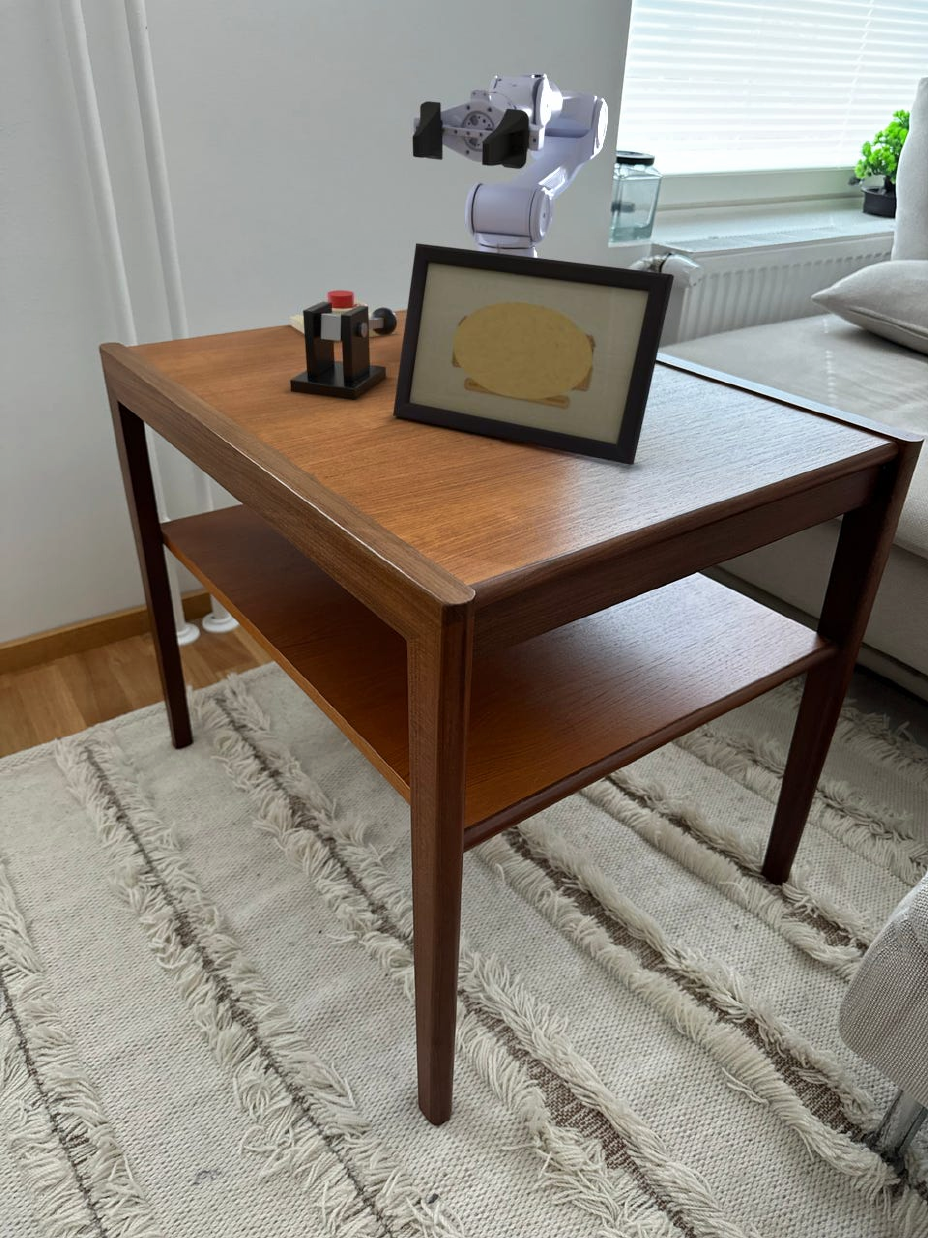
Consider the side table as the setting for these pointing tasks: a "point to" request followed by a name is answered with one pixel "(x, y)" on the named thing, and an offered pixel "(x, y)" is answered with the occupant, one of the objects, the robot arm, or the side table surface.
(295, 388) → the bracket
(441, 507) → the side table surface
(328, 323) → the lever
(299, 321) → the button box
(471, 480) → the side table surface
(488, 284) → the picture frame
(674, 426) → the side table surface
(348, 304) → the button
